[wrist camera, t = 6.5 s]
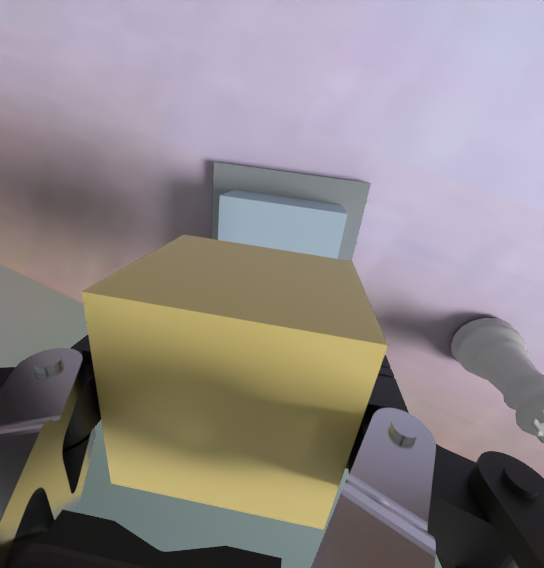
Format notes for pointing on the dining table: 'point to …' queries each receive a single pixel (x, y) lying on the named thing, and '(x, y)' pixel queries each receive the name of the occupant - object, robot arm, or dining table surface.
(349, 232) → the baseplate
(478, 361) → the rook chess piece
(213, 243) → the mustard block
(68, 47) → the dining table surface
